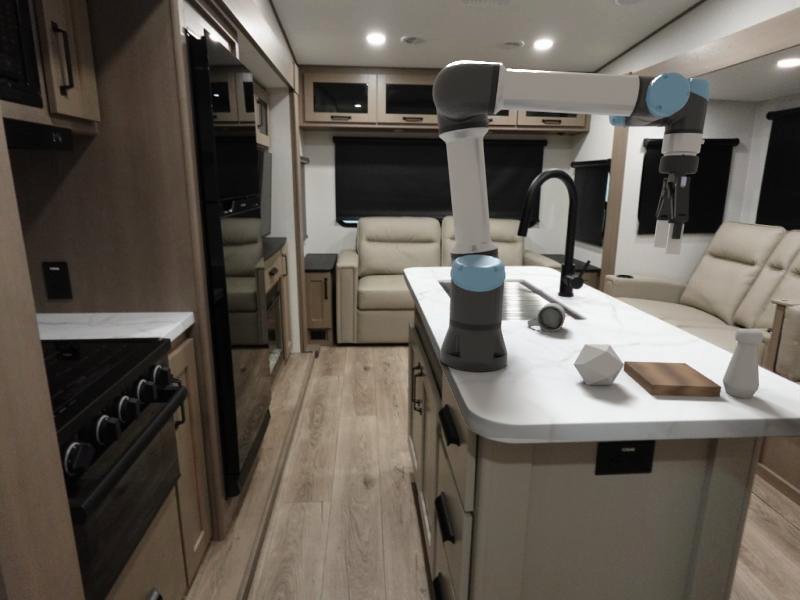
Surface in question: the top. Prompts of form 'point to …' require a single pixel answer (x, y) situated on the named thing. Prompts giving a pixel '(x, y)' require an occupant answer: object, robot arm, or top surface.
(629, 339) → the top surface
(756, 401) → the top surface
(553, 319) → the ceramic mug
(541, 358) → the top surface
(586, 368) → the die
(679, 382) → the walnut board
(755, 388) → the salt shaker
